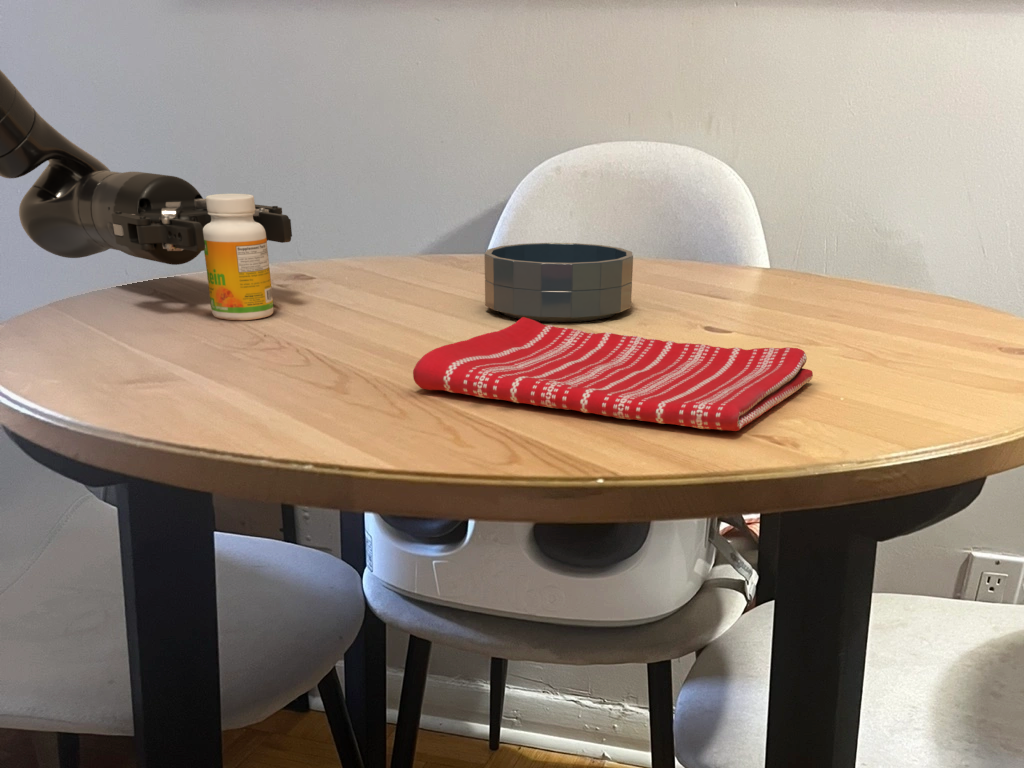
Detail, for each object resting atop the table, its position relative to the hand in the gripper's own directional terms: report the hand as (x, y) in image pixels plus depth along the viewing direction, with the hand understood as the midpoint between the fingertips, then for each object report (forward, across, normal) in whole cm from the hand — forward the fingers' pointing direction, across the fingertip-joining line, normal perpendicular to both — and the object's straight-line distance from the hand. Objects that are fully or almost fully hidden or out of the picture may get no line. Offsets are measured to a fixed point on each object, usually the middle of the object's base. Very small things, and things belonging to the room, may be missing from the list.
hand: (245, 233), depth 98 cm
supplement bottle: (-2, 0, +7) cm, 7 cm away
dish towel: (+39, +4, +7) cm, 40 cm away
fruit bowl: (+16, +22, +7) cm, 28 cm away
